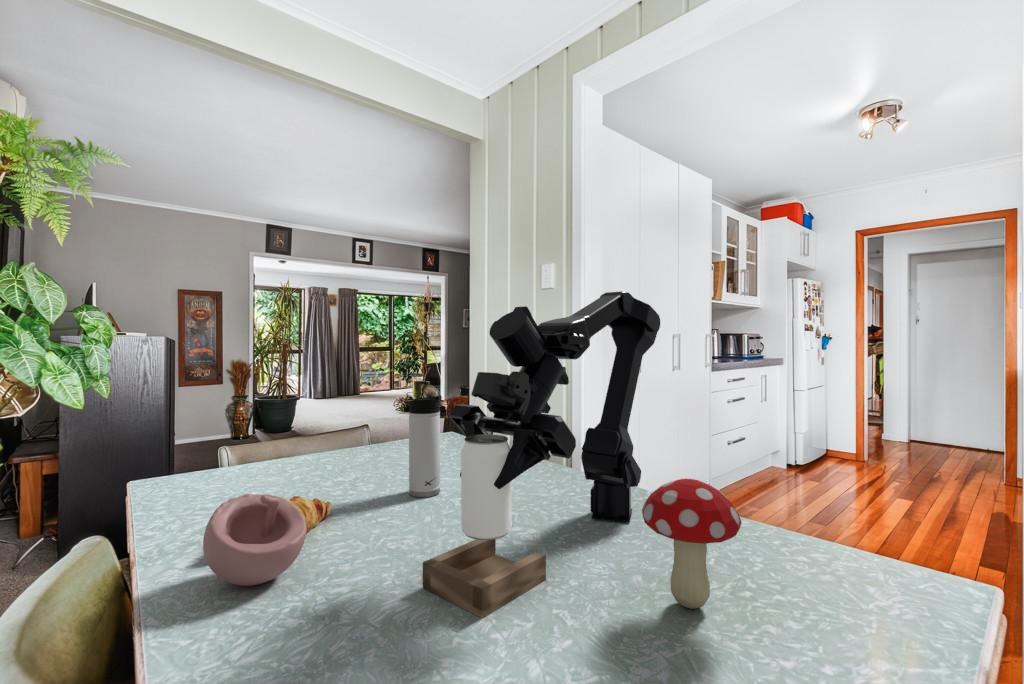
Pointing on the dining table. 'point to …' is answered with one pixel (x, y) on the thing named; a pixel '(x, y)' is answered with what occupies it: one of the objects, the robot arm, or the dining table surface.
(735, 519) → the decorative mushroom
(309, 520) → the croissant
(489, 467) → the can
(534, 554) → the cradle
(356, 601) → the dining table surface
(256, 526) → the mortar and pestle
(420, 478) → the travel mug
